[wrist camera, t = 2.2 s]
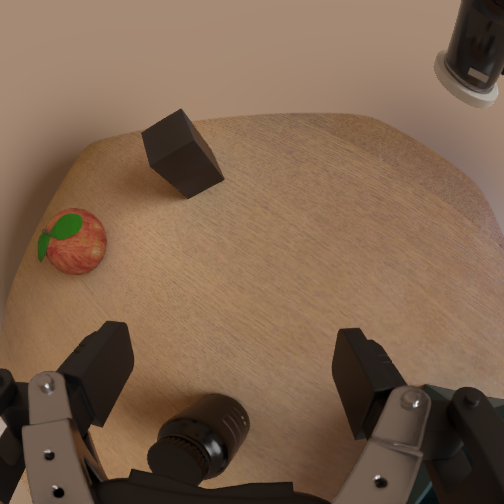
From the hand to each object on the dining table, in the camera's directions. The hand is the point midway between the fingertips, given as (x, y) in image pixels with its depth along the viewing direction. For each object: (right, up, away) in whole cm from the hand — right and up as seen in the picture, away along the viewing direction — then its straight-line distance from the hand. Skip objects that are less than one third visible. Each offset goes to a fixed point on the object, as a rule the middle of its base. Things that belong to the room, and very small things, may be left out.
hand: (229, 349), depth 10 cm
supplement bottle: (-2, -15, +18) cm, 23 cm away
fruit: (-21, +4, +26) cm, 34 cm away
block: (-6, +13, +24) cm, 28 cm away
